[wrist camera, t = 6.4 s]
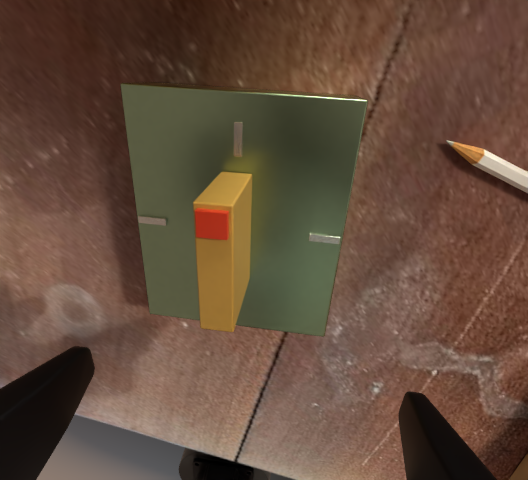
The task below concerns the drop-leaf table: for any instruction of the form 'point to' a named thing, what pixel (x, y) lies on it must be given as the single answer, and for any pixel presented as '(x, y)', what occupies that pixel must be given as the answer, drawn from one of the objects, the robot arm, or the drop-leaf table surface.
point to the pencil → (493, 165)
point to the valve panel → (263, 191)
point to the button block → (521, 470)
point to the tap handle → (223, 248)
